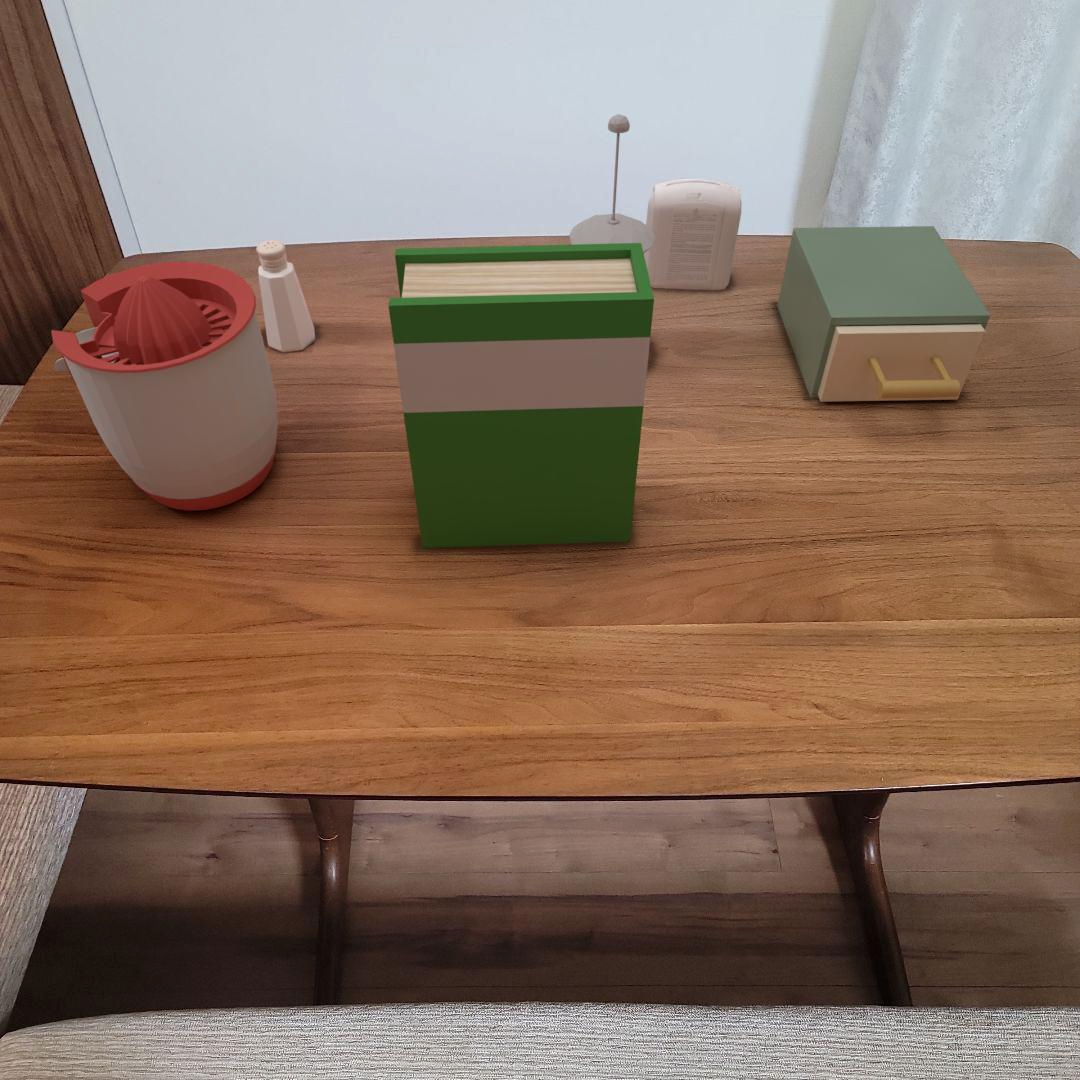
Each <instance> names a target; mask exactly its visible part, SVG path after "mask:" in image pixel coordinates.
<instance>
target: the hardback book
mask: <svg viewBox="0 0 1080 1080" xmlns="http://www.w3.org/2000/svg"><path fill="white" fill-rule="evenodd" d="M394 252H395V253H394V258H395V266H396V267H395V268H396V274H397V281H398V291H399V297H389V299H388V305H387V306H388V312H389V319H390V326H391V327H390V328H391V334H392V340H393V341H392V342H393V347H394V348H393V349H394V356H395V362H396V370H397V376H398V377H397V378H398V385H399V391H400V398H401V406H402V413H403V420H404V428H405V434H406V440H407V441H406V442H407V448H408V456H409V463H410V470H411V477H412V485H413V491H414V499H415V506H416V512H417V521H418V527H419V535H420V541H421V547H422V549H428V548H429V549H431V548H461V547H463V548H465V547H489V546H490V547H492V546H493V547H494V546H520V545H523V546H525V545H527V546H528V545H553V544H556V545H557V544H587V543H616V542H617V543H618V542H619V543H620V542H621V543H623V542H631V535H632V527H633V526H632V525H633V518H634V517H633V515H634V505H635V495H636V487H637V486H636V485H637V477H638V466H639V464H638V463H639V454H640V445H641V434H642V425H643V416H644V415H643V414H644V406H645V404H644V403H645V395H646V385H647V375H648V365H649V356H650V355H649V354H650V344H651V335H652V325H653V315H654V314H653V313H654V304H655V296H654V292H653V287H651V283H650V279H649V275H648V270H647V266H646V262H645V257H644V253H643V248H642V244H641V243H617V244H573V245H572V244H544V245H543V244H538V245H537V244H536V245H534V244H533V245H494V246H493V245H492V246H451V247H448V246H447V247H409V248H407V247H406V248H405V247H404V248H401V247H400V248H395V251H394Z"/></svg>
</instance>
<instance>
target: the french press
mask: <svg viewBox="0 0 1080 1080" xmlns="http://www.w3.org/2000/svg"><path fill="white" fill-rule="evenodd" d="M630 125H631V124H630V120H629V118H628V117H627V116H626V115H623V114H620V113H617V114H615V115H613V116H612V117H610V118H609V120H608V124H607V129H608V131H610V132H611V133H614V134H616V143H615V159H614V161H615V162H614V179H613V195H612V196H613V197H612V211H611V213H607V214H595V215H593V216H590V217H588V218H586V219H584V220H582V221H581V222H579V223H577V224H576V225H574V226H573V227H572V229H571V230H570V233H569V234H568V236H569V240H570V245H573V244H617V243H641V244H642V248H643V253H645V252H646V251H647V250H649V249H650V248H651V247H652V245H653V243H654V240H655V236H654V234H653V231H652V229H650V228H649V227H648V226H646V223H644V222H642V221H641V220H639V219H636V218H633V217H630V216H627V215H625V214H622V213H616V206H617V205H616V203H617V187H618V183H617V182H618V170H619V151H620V137H621V134H625V133H628V132H629V131H630Z"/></svg>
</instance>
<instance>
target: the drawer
mask: <svg viewBox="0 0 1080 1080" xmlns="http://www.w3.org/2000/svg"><path fill="white" fill-rule="evenodd" d="M985 334H986V329H985V330H984V329H983V327H982V325H981V324H968V325H964V323H962V324H922V325H901V326H846V325H839V326H836V328H835V332H834V336H833V339H832V343H831V347H830V351H829V354H828V358H827V362H826V365H825V369H824V373H823V377H822V380H821V384H820V388H819V392H818V396H819V398H818V399H819V401H820V402H821V403H822V402H823V403H825V402H827V403H828V402H880V401H881V402H882V401H885V402H887V401H889V402H890V401H942V400H944V401H947V400H948V401H949V400H951V401H952V400H953V401H954V400H958V399H959V397H960V395H961V392H962V389H963V387H964V386H965V383H966V380H967V378H968V375H969V373H970V370H971V368H972V365H973V362H974V360H975V357H976V355H977V353H978V350H979V348H980V346H981V343H982V341H983V338H984V336H985Z"/></svg>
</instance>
